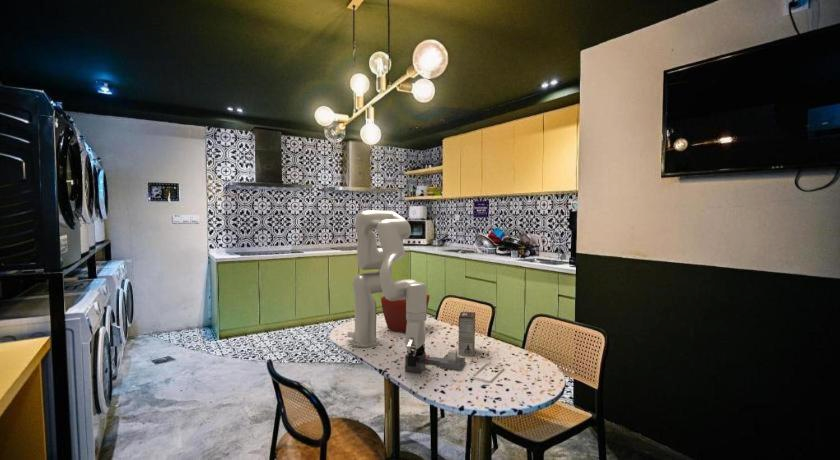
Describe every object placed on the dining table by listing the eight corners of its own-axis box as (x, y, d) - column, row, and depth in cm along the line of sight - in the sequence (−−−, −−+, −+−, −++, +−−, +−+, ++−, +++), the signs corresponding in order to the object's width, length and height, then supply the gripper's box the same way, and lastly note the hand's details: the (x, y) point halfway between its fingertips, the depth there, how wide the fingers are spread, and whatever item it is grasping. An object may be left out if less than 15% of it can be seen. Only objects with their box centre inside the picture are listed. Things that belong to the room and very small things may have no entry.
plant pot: (430, 326, 203) (430, 294, 203) (414, 336, 186) (415, 301, 185) (397, 322, 211) (397, 291, 211) (379, 331, 194) (379, 297, 193)
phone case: (490, 384, 135) (504, 370, 148) (490, 380, 135) (504, 366, 148) (470, 379, 139) (485, 366, 152) (470, 375, 139) (485, 362, 152)
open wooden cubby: (405, 371, 144) (405, 355, 144) (410, 365, 150) (410, 350, 150) (420, 373, 142) (420, 357, 142) (425, 367, 148) (425, 352, 148)
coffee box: (460, 347, 171) (460, 311, 171) (474, 348, 170) (475, 312, 170) (457, 354, 162) (458, 316, 162) (473, 356, 161) (474, 317, 161)
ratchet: (405, 362, 153) (405, 348, 153) (412, 356, 160) (412, 342, 160) (460, 370, 146) (460, 355, 146) (464, 363, 153) (465, 349, 153)
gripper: (414, 310, 155) (414, 353, 155) (398, 320, 138) (398, 368, 139) (432, 311, 152) (432, 355, 153) (418, 322, 136) (418, 371, 136)
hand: (416, 361), depth 146 cm, fingers open, 9 cm apart
